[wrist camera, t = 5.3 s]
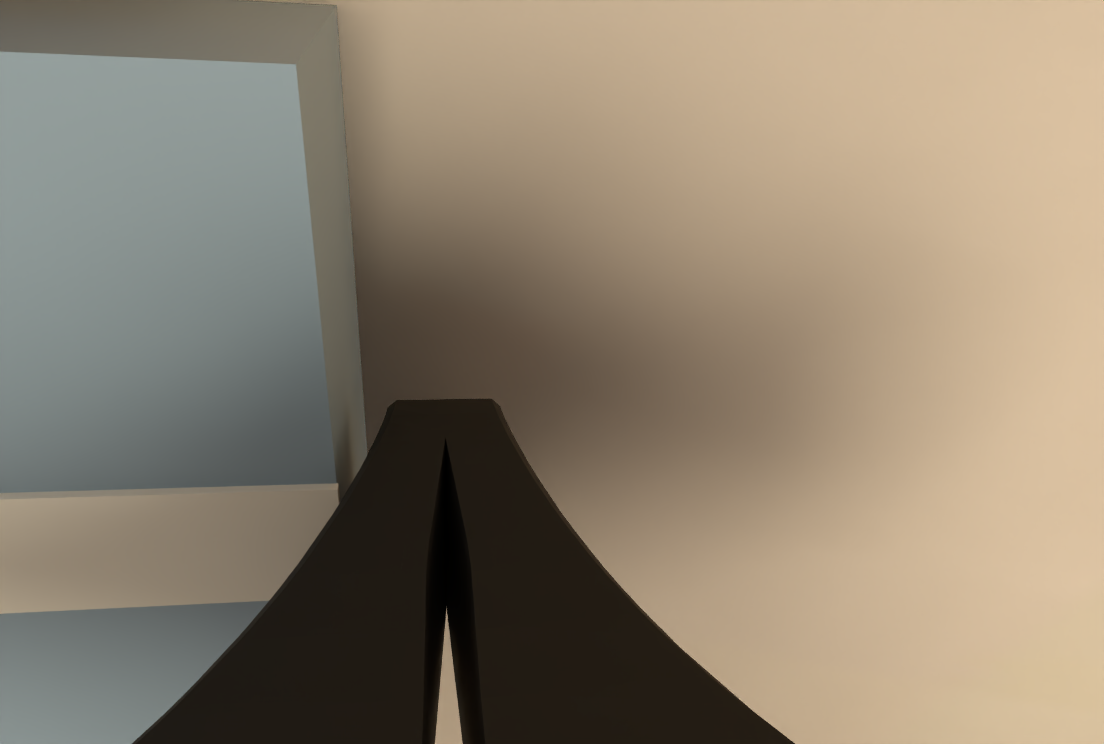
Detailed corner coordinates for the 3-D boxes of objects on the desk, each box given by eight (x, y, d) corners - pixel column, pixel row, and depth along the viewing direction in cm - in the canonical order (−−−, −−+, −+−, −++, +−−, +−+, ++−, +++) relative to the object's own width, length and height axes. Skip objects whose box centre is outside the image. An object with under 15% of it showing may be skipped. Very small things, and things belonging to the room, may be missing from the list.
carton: (381, 606, 14) (368, 803, 11) (-113, 631, 13) (-275, 857, 10) (341, 1, 9) (295, 66, 6) (-484, -45, 8) (-1037, 11, 5)
